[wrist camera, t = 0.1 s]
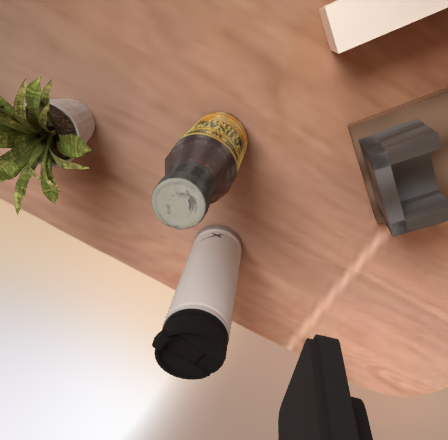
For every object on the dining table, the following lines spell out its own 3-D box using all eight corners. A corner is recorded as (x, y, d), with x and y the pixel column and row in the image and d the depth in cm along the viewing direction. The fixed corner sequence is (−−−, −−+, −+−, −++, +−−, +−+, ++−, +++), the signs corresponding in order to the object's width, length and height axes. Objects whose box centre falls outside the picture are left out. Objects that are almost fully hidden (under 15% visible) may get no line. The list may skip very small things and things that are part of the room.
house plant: (133, 48, 43) (60, 62, 28) (150, 172, 49) (97, 235, 34) (8, 54, 45) (-121, 70, 30) (39, 173, 51) (-56, 234, 36)
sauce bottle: (258, 124, 45) (246, 190, 27) (233, 171, 48) (209, 260, 30) (204, 97, 44) (157, 147, 27) (183, 147, 47) (127, 222, 29)
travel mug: (211, 213, 50) (177, 318, 33) (252, 244, 52) (240, 361, 34) (182, 245, 53) (135, 359, 35) (222, 274, 54) (195, 398, 36)
